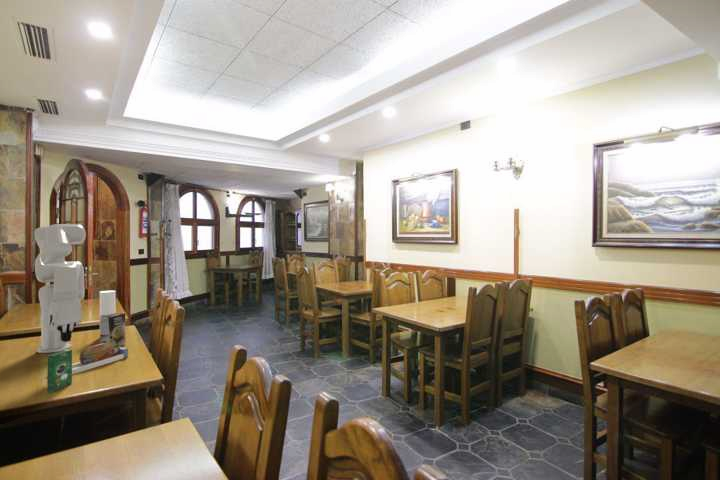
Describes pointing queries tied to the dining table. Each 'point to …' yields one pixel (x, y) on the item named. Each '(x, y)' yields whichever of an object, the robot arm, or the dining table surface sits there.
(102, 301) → the cylindrical container
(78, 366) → the guide track
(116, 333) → the coffee box
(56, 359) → the coffee box
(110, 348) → the tin
